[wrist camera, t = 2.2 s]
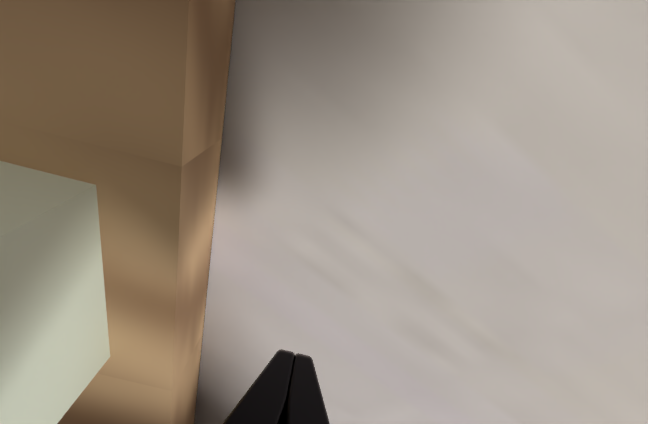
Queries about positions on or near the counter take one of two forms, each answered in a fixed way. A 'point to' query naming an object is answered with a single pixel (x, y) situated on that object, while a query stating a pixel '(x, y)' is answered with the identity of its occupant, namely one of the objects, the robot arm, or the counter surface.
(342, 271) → the counter surface
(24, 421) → the block
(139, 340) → the toy board
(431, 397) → the counter surface
